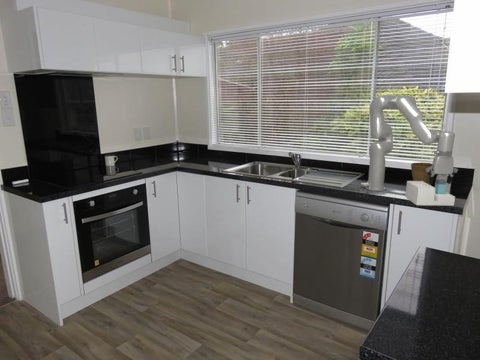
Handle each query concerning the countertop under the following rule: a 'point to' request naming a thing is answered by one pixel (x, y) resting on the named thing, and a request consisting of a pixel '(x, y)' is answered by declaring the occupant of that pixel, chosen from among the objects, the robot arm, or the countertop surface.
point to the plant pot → (420, 172)
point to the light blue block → (440, 186)
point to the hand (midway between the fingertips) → (439, 183)
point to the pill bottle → (444, 177)
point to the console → (426, 194)
